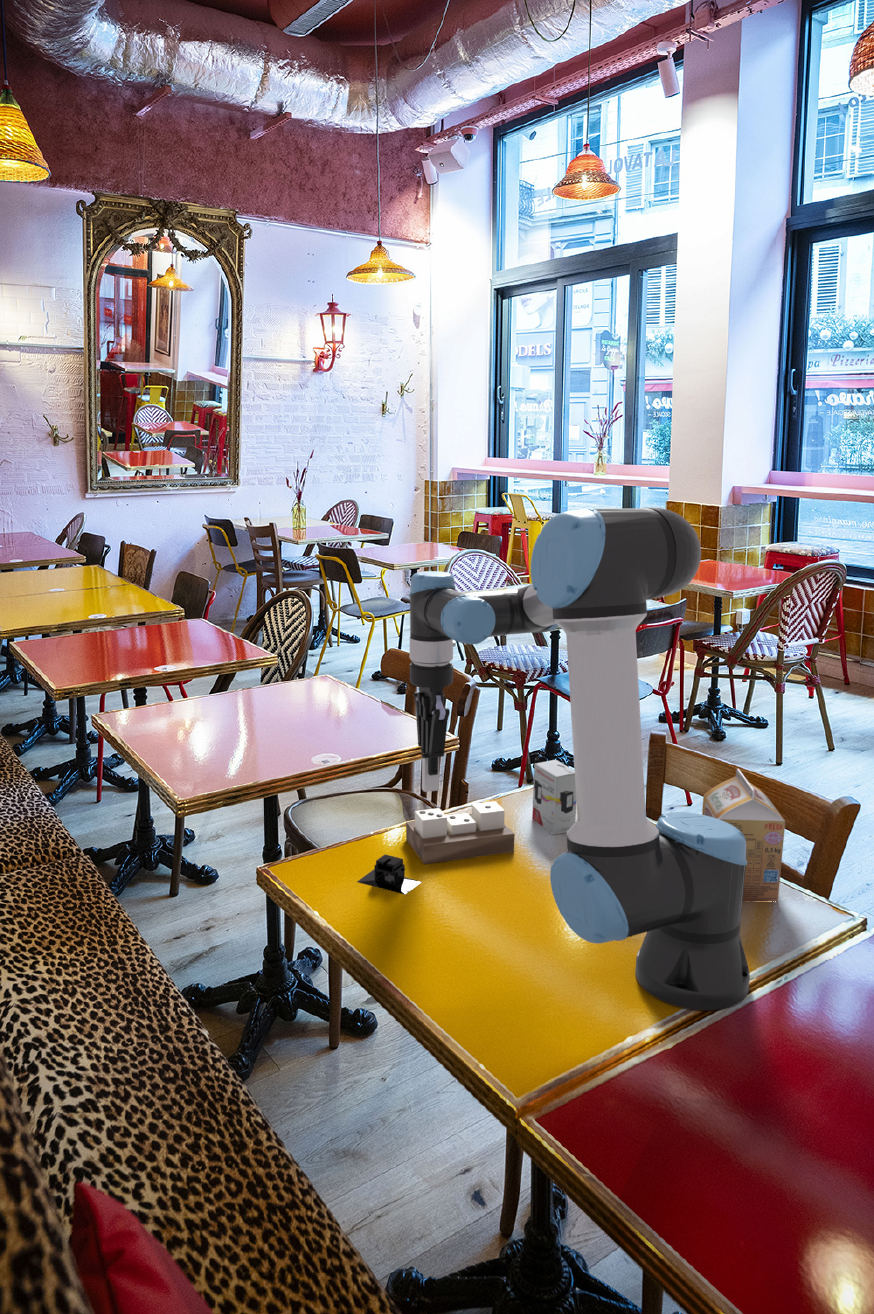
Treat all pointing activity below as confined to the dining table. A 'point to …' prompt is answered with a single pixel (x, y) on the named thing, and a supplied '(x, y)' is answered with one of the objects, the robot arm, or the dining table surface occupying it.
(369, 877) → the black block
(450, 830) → the tile two
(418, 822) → the tile three
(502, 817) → the tile one
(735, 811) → the milk carton
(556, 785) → the ink box
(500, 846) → the board
